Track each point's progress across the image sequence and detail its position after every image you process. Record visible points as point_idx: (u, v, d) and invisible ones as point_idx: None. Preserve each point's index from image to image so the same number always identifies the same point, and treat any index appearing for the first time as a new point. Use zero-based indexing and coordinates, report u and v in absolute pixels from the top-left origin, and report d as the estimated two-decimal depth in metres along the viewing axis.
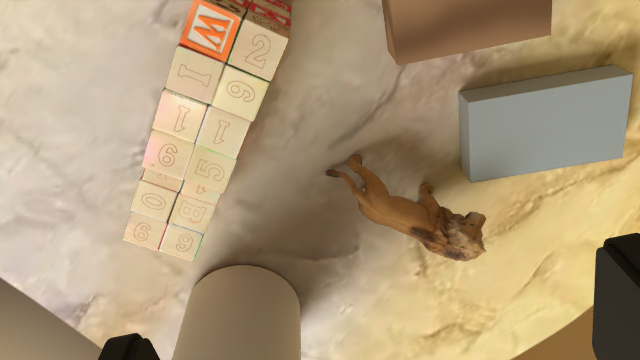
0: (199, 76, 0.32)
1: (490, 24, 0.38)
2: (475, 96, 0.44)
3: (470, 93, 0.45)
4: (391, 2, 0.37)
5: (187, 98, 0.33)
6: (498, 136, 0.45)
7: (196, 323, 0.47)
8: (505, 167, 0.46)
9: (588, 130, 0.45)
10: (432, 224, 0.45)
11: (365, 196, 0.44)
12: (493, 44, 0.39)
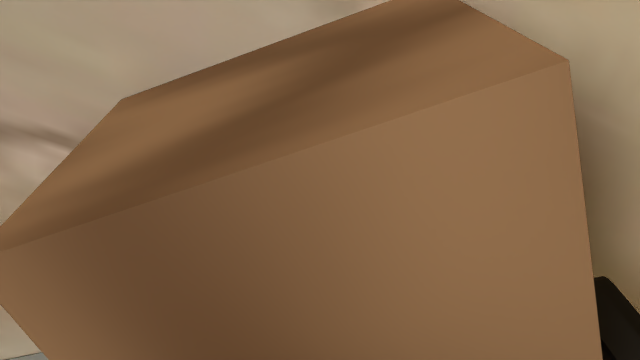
0: None
1: None
2: None
3: None
4: (434, 114, 0.04)
5: None
6: None
7: None
8: None
9: None
10: None
11: None
12: None
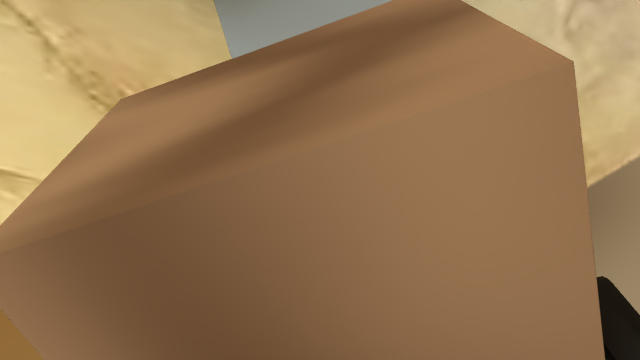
0: None
1: None
2: None
3: None
4: (437, 116, 0.04)
5: None
6: (319, 4, 0.22)
7: None
8: (249, 37, 0.22)
9: None
10: None
11: None
12: None
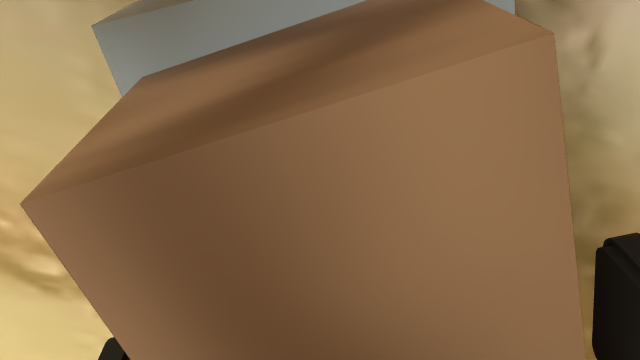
0: None
1: None
2: None
3: None
4: (437, 78, 0.05)
5: None
6: None
7: None
8: None
9: None
10: None
11: None
12: None
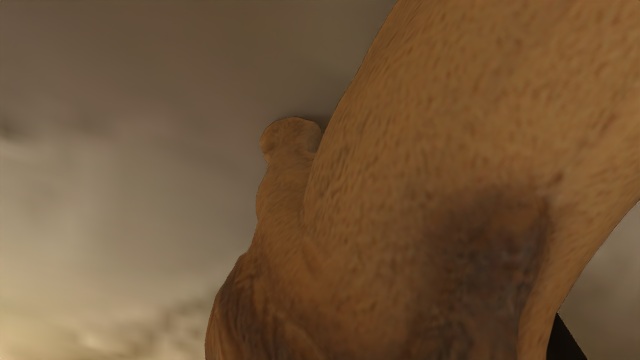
0: None
1: None
2: None
3: None
4: None
5: None
6: None
7: None
8: None
9: None
10: None
11: None
12: None
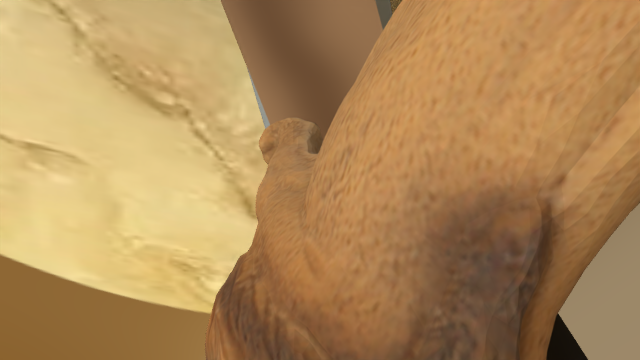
0: None
1: None
2: None
3: None
4: None
5: None
6: None
7: None
8: None
9: None
10: None
11: None
12: None
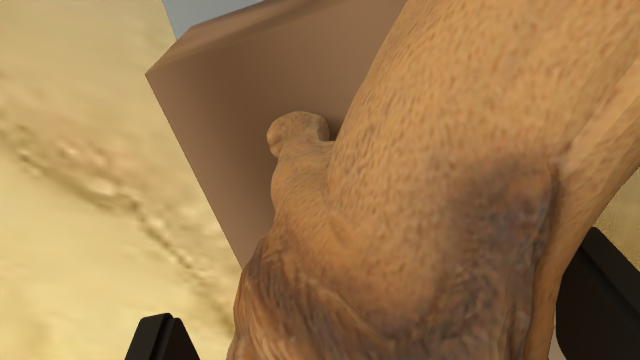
0: None
1: None
2: None
3: None
4: (372, 1, 0.10)
5: None
6: None
7: None
8: None
9: None
10: (549, 336, 0.05)
11: None
12: None
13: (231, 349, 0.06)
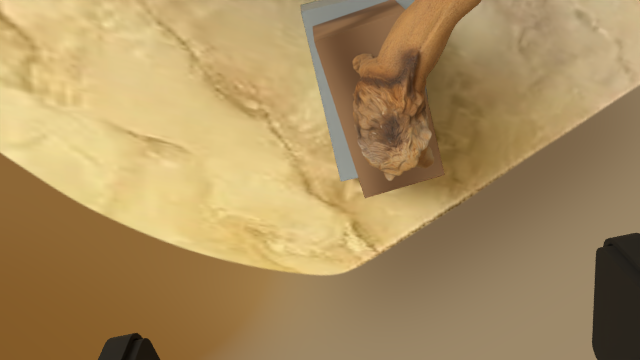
0: None
1: None
2: None
3: None
4: (388, 18, 0.31)
5: None
6: None
7: None
8: None
9: None
10: (422, 88, 0.27)
11: None
12: (350, 145, 0.35)
13: (354, 101, 0.28)
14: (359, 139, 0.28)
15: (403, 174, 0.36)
